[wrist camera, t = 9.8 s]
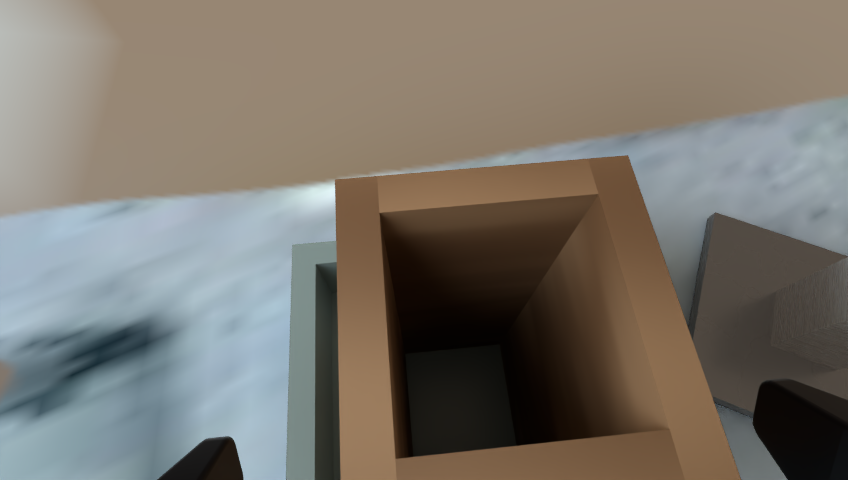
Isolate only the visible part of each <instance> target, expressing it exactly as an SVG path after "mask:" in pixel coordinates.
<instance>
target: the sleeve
mask: <svg viewBox="0 0 848 480" xmlns="http://www.w3.org/2000/svg"><path fill="white" fill-rule="evenodd" d="M335 196H336V251H337V307H338V362H339V417H340V472H341V480H741V478H740V475H739V472H738V470H737V467H736V464H735V461H734V458H733V455H732V452H731V449H730V447H729V444H728V441H727V438H726V435H725V432H724V429H723V427H722V424H721V421H720V418H719V415H718V412H717V409H716V406H715V404H714V401H713V398H712V395H711V392H710V389H709V386H708V384H707V381H706V378H705V375H704V372H703V369H702V366H701V364H700V361H699V358H698V355H697V352H696V349H695V346H694V343H693V341H692V338H691V335H690V332H689V329H688V326H687V323H686V321H685V318H684V315H683V312H682V309H681V306H680V303H679V300H678V298H677V295H676V292H675V289H674V286H673V283H672V280H671V278H670V275H669V272H668V269H667V266H666V263H665V260H664V257H663V255H662V252H661V249H660V246H659V243H658V240H657V237H656V235H655V232H654V229H653V226H652V223H651V220H650V217H649V214H648V212H647V209H646V206H645V203H644V200H643V197H642V194H641V192H640V189H639V186H638V183H637V180H636V177H635V174H634V171H633V169H632V166H631V163H630V160H629V157H628V155H627V156H615V157H603V158H591V159H579V160H567V161H555V162H543V163H531V164H519V165H507V166H494V167H482V168H470V169H458V170H446V171H434V172H422V173H410V174H398V175H386V176H374V177H361V178H349V179H337V180H335ZM499 344H500V349H501V355H502V361H503V367H504V373H505V379H506V385H507V391H508V397H509V403H510V409H511V415H512V421H513V426H514V432H515V438H516V444H517V446H511V447H502V448H492V449H483V450H474V451H465V452H455V453H446V454H437V455H428V456H418V457H413V446H412V433H411V421H410V408H409V396H408V383H407V371H406V358H405V354H407V353H418V352H428V351H438V350H448V349H458V348H468V347H478V346H488V345H499Z"/></svg>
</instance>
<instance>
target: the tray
mask: <svg viewBox="0 0 848 480" xmlns="http://www.w3.org/2000/svg"><path fill="white" fill-rule="evenodd" d="M405 358H406V371H407V383H408V396H409V408H410V421H411V433H412V446H413V457H418V456H428V455H437V454H446V453H455V452H465V451H474V450H483V449H492V448H502V447H511V446H517V444H516V438H515V432H514V426H513V421H512V415H511V409H510V403H509V397H508V391H507V385H506V379H505V373H504V367H503V361H502V355H501V349H500V344H499V345H488V346H478V347H468V348H458V349H448V350H438V351H428V352H418V353H407V354H405ZM286 480H341V472H340V417H339V362H338V307H337V251H336V241H331V242H319V243H308V244H296V245H292V279H291V315H290V350H289V386H288V422H287V457H286Z"/></svg>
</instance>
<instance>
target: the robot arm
mask: <svg viewBox="0 0 848 480" xmlns="http://www.w3.org/2000/svg"><path fill="white" fill-rule="evenodd" d="M753 426H754V429H755V431H756V433H757V435H758V437H759V438H760V440H761V441H762V442H763V444H764V445H765V447H766V448H767V450H768V451H769V453H770V454H771V456H772V457H773V459H774V460H775V462H776V463H777V465H778V466H779V467H780V469H781V470H782V472H783V473H784V475H785V476H786V478H787V479H788V480H848V400H847V399H844V398H842V397H839V396H836V395H833V394H831V393H828V392H825V391H823V390H820V389H817V388H814V387H812V386H809V385H806V384H804V383H801V382H798V381H796V380H793V379H789V378H780V379H771V380H765V381H763V382H762V383H761V384H760V386H759V389H758V394H757V399H756V404H755V408H754V413H753ZM157 480H243V472H242V469H241V465H240V461H239V457H238V453H237V449H236V445H235V442H234V440H233V439H232V438H231V437H229V436H225V437H216V438H208V439H205V440H204V441H202V442H201V443H200V444H199V445H197V446H196V447H195V448H194V449H193V450H192V451H190V452H189V453H188V454H187V455H186V456H184V457H183V458H182V459H181V460H180V461H179V462H177V463H176V464H175V465H174V466H173V467H171V468H170V469H169V470H168V471H167V472H166V473H164V474H163V475H162V476H161V477H160V478H159V479H157Z"/></svg>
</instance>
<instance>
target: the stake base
mask: <svg viewBox="0 0 848 480" xmlns="http://www.w3.org/2000/svg"><path fill="white" fill-rule="evenodd" d="M688 329H689V332H690V335H691V338H692V341H693V343H694V346H695V349H696V352H697V355H698V358H699V361H700V364H701V366H702V369H703V372H704V375H705V378H706V381H707V384H708V386H709V389H710V392H711V395H712V398H713V401H714V403H717V404H719V405H722V406H724V407H727V408H729V409H732V410H734V411H737V412H739V413H742V414H744V415H747V416H749V417H752V418H753V413H754V408H755V404H756V399H757V394H758V389H759V386H760V384H761V383H762V382H763V381H765V380H771V379H780V378H789V379H793V380H796V381H798V382H801V383H804V384H806V385H809V386H812V387H814V388H817V389H820V390H823V391H825V392H828V393H831V394H833V395H836V396H839V397H842V398H844V399H847V400H848V256H844V255H841V254H838V253H835V252H832V251H829V250H826V249H823V248H820V247H817V246H814V245H811V244H808V243H805V242H802V241H799V240H796V239H793V238H790V237H787V236H784V235H781V234H778V233H775V232H772V231H769V230H766V229H763V228H760V227H757V226H754V225H751V224H748V223H745V222H742V221H739V220H736V219H733V218H730V217H727V216H724V215H721V214H718V213H714V214H713V215H712V216H710V217H709V218H708V220H707V225H706V231H705V236H704V242H703V247H702V253H701V258H700V264H699V269H698V275H697V280H696V286H695V291H694V297H693V302H692V308H691V314H690V319H689V325H688Z"/></svg>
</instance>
